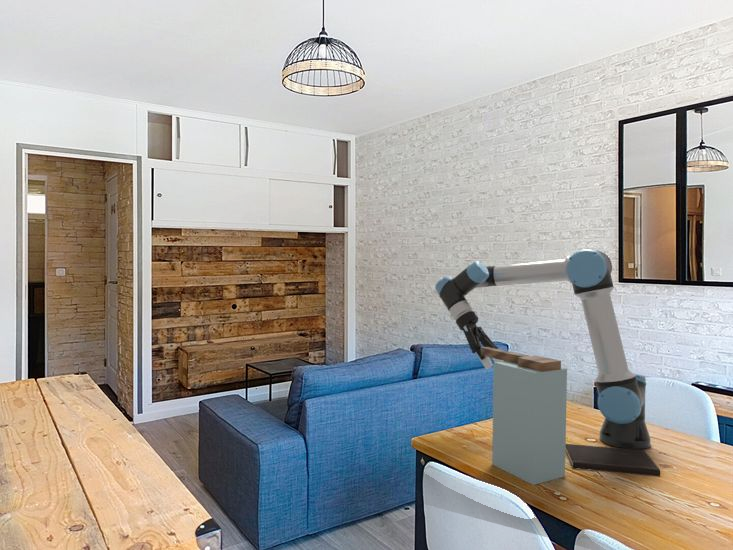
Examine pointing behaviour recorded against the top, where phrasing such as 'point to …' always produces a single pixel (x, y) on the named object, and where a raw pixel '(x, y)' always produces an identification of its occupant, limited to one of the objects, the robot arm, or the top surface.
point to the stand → (529, 422)
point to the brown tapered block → (523, 359)
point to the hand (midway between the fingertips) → (496, 367)
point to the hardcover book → (611, 459)
